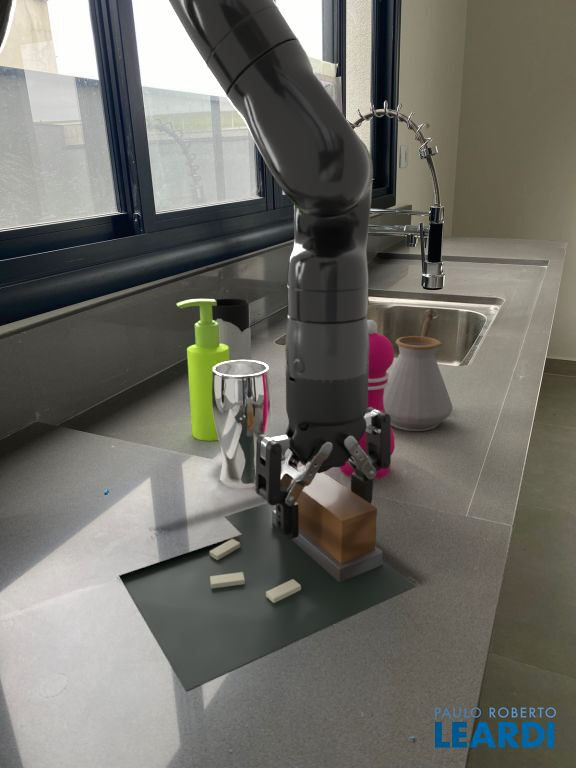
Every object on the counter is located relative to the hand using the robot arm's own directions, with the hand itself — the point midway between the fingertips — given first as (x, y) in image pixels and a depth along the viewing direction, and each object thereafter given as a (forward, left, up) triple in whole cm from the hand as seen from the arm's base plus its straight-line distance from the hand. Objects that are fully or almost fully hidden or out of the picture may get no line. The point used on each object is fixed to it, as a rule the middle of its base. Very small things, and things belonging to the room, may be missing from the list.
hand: (325, 521), depth 60 cm
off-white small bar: (-8, -4, -2) cm, 9 cm away
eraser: (0, 0, -2) cm, 2 cm away
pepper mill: (+14, +11, -4) cm, 18 cm away
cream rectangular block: (-9, +4, -2) cm, 10 cm away
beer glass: (0, +17, -4) cm, 17 cm away
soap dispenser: (+3, +34, -4) cm, 34 cm away
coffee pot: (+35, +24, -4) cm, 43 cm away
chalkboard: (-8, 0, -3) cm, 9 cm away
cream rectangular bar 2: (-11, 0, -2) cm, 11 cm away
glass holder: (+19, +56, -4) cm, 59 cm away
